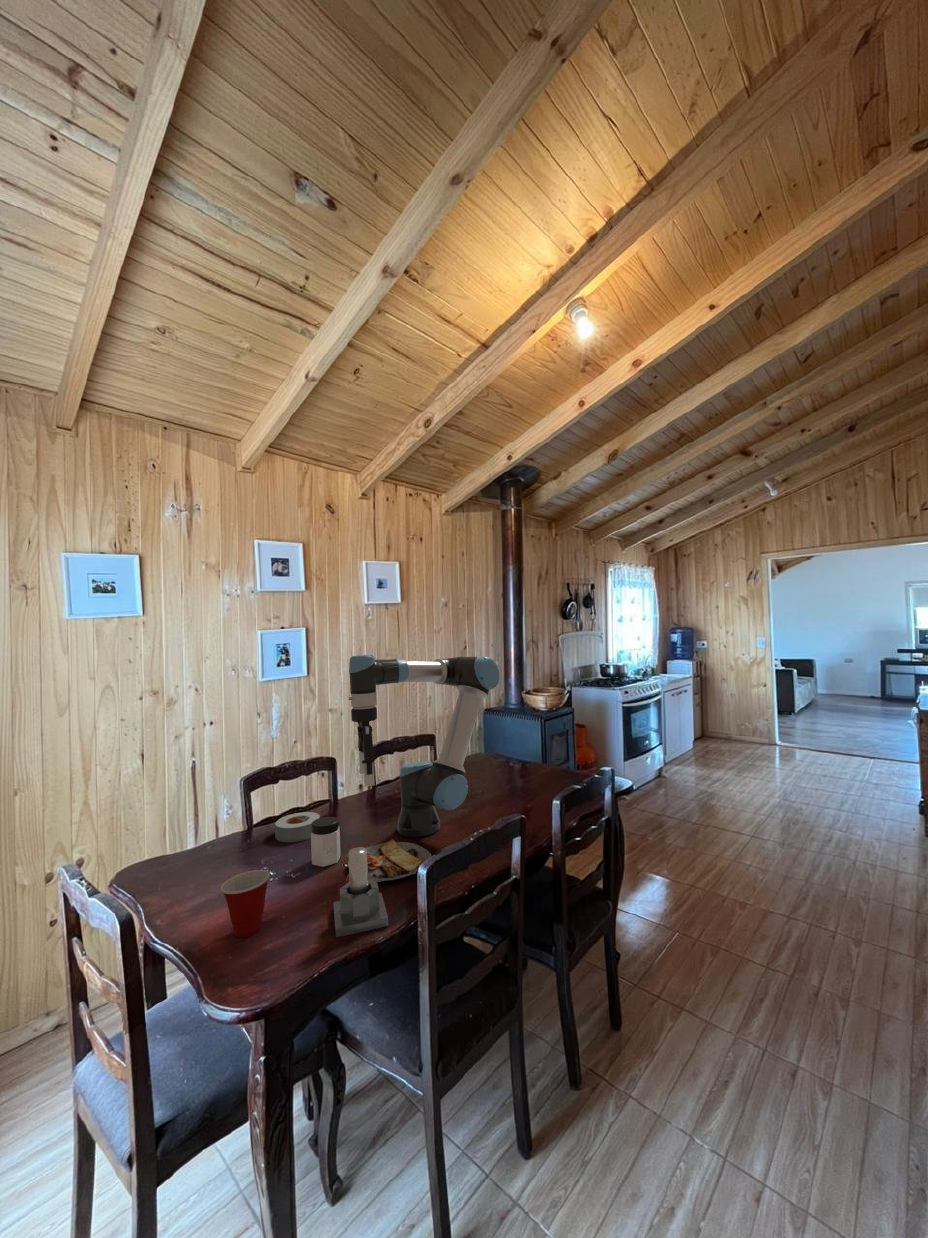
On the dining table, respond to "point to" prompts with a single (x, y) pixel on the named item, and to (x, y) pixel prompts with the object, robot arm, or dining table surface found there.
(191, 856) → the dining table surface
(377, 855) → the food plate
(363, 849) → the pipe stub
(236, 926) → the plastic cup
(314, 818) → the tape roll
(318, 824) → the jar
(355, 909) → the valve body
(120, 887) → the dining table surface
